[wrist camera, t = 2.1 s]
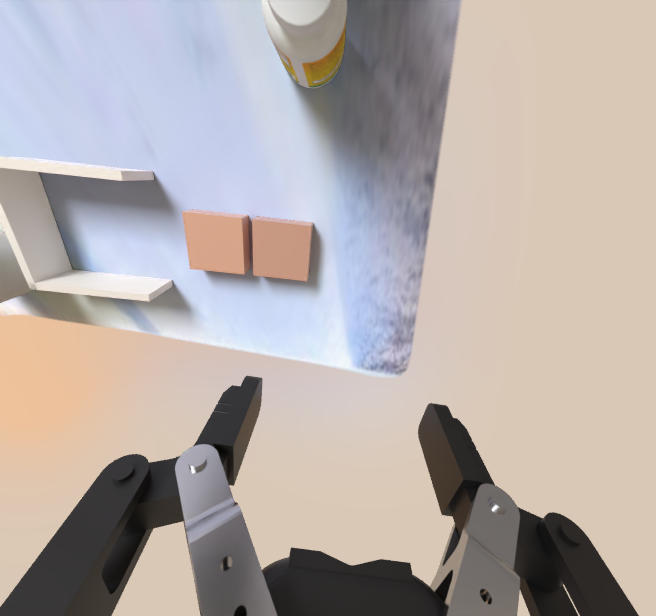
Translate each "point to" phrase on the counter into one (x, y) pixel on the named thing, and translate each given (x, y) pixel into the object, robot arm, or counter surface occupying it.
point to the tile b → (281, 248)
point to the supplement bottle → (308, 37)
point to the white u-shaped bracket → (44, 237)
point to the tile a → (217, 241)
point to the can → (10, 272)
